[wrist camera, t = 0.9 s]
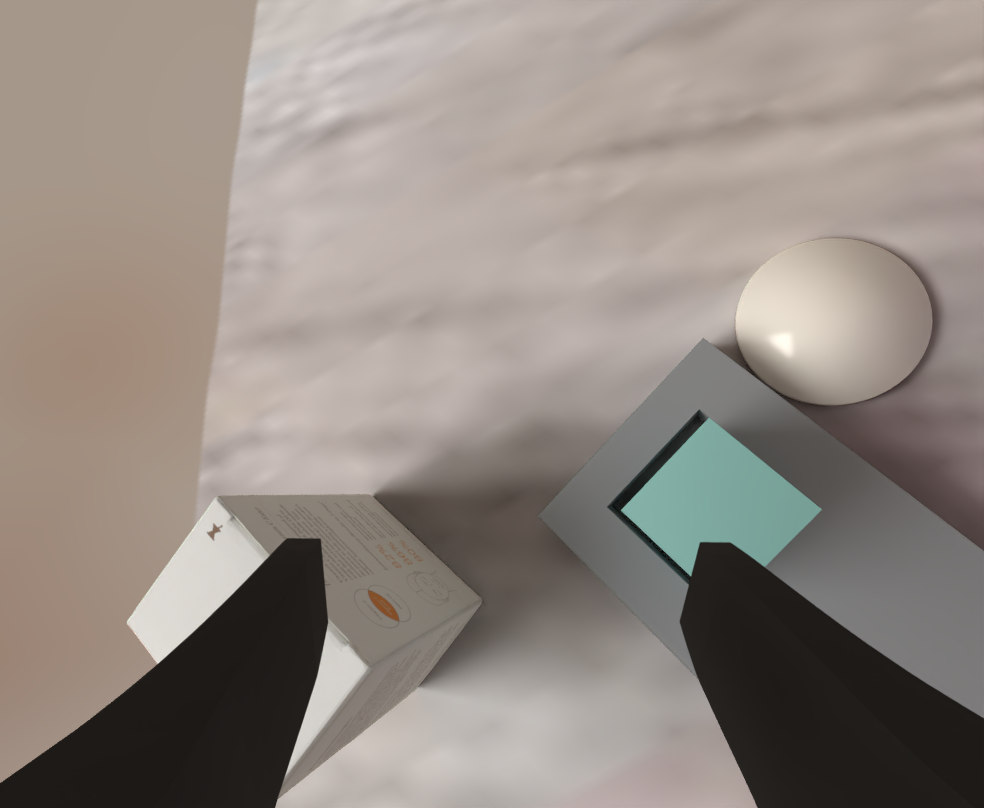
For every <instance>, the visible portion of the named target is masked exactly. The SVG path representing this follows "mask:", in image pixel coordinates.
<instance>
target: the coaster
mask: <svg viewBox="0 0 984 808" xmlns="http://www.w3.org/2000/svg"><path fill="white" fill-rule="evenodd" d="M932 323H933V319H932V308H931V304H930V300H929V297H928V294H927V292H926V289H925V287H924V286H923V284H922V282H921V281H920V279H919V277H918V276H917V275H916V274H915V273H914V271H913V270H912V269H911V268H910V267H909V266H908V265H907V264H906V263H905V262H903V261H902V260H901V259H899V258H898V257H897V256H895V255H894V254H892V253H890V252H888V251H887V250H885V249H883V248H881V247H878V246H875V245H873V244H870V243H867V242H863V241H859V240H852V239H845V238H828V239H818V240H813V241H808V242H804V243H801V244H798V245H795V246H793V247H790V248H788V249H786V250H784V251H782V252H780V253H779V254H777V255H775V256H774V257H772V258H771V259H770V260H768V261H767V262H766V263H765V264H764V265H762V266H761V267H760V268H759V269H758V270H757V271H756V273H755V274H754V275H753V276H752V278H751V279H750V280H749V282H748V284H747V285H746V287H745V289H744V291H743V293H742V295H741V298H740V300H739V304H738V307H737V311H736V318H735V332H736V338H737V343H738V346H739V349H740V352H741V354H742V356H743V358H744V360H745V362H746V363H747V365H748V366H749V368H750V369H751V370H752V372H753V373H754V374H755V375H756V376H757V377H758V378H759V379H760V380H761V381H762V382H764V383H765V384H766V385H767V386H769V387H770V388H772V389H773V390H775V391H776V392H778V393H780V394H782V395H784V396H786V397H788V398H791V399H794V400H796V401H799V402H804V403H808V404H813V405H822V406H839V405H848V404H853V403H857V402H862V401H865V400H867V399H870V398H873V397H875V396H878V395H880V394H882V393H884V392H886V391H888V390H890V389H891V388H892V387H894V386H895V385H897V384H898V383H900V382H901V381H902V380H903V379H905V378H906V377H907V376H908V375H909V374H910V373H911V372H912V371H913V369H914V368H915V367H916V366H917V365H918V363H919V362H920V360H921V358H922V357H923V355H924V353H925V351H926V349H927V346H928V344H929V341H930V337H931V333H932Z"/></svg>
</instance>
